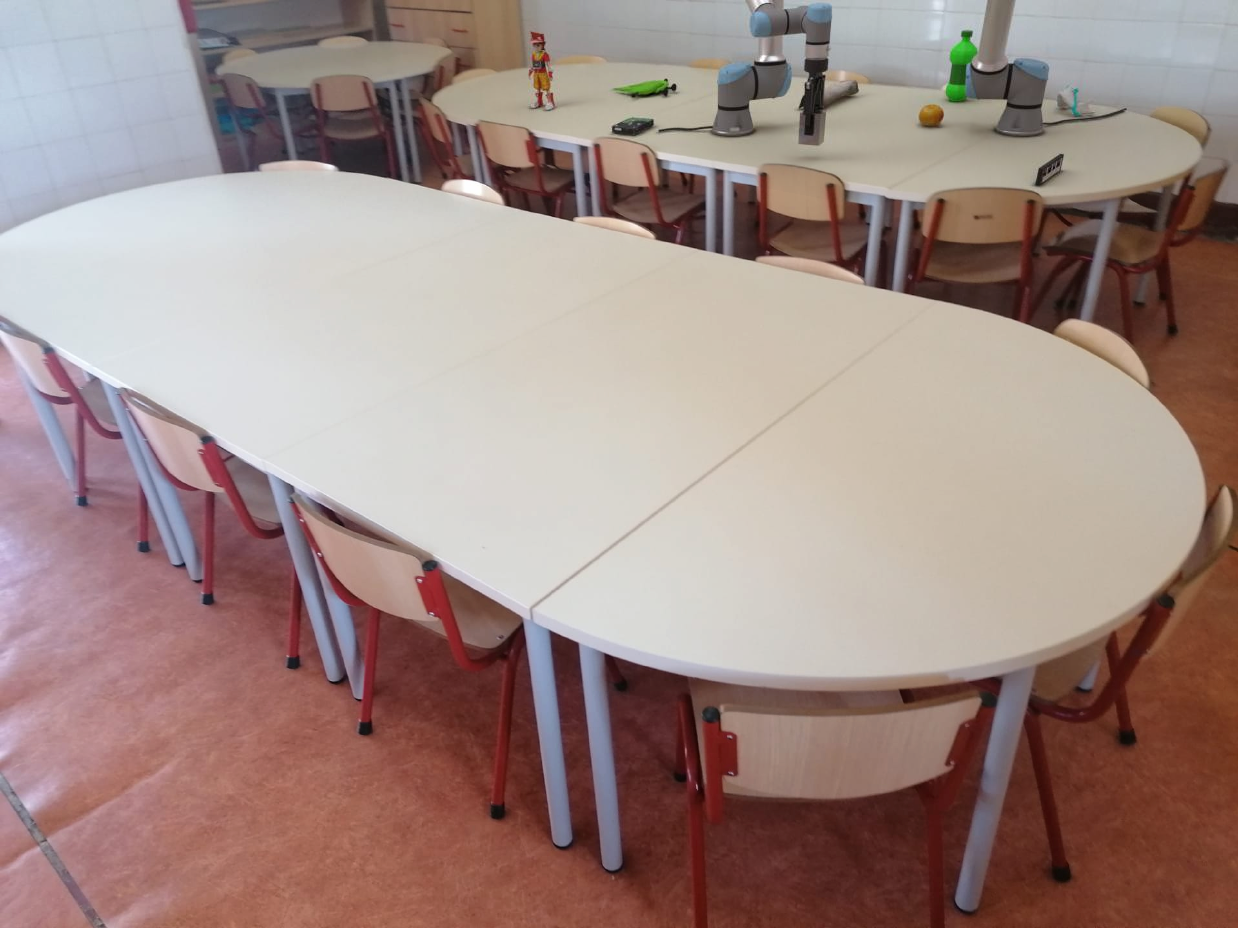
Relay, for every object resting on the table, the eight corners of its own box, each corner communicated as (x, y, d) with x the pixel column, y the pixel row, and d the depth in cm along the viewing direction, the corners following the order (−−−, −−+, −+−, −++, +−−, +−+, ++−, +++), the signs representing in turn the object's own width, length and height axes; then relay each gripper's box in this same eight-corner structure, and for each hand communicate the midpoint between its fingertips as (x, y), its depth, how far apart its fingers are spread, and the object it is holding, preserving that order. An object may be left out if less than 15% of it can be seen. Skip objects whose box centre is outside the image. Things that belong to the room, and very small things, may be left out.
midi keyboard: (1039, 185, 269) (1043, 168, 266) (1035, 184, 270) (1038, 168, 267) (1060, 170, 279) (1064, 154, 277) (1056, 169, 280) (1060, 153, 277)
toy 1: (525, 109, 381) (517, 32, 364) (534, 104, 388) (527, 28, 371) (550, 110, 377) (543, 32, 360) (559, 105, 384) (553, 28, 367)
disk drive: (634, 136, 338) (654, 126, 348) (634, 128, 336) (654, 118, 346) (611, 133, 343) (631, 123, 353) (611, 126, 341) (631, 116, 351)
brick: (798, 144, 301) (799, 112, 295) (803, 140, 305) (805, 109, 299) (818, 146, 298) (820, 114, 292) (823, 142, 301) (826, 110, 296)
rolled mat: (834, 85, 375) (850, 69, 367) (846, 103, 376) (863, 88, 367) (794, 103, 358) (811, 87, 350) (807, 122, 358) (824, 107, 350)
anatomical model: (1050, 84, 335) (1077, 77, 334) (1049, 112, 341) (1076, 105, 340) (1070, 94, 323) (1098, 86, 322) (1069, 123, 328) (1096, 115, 328)
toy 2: (686, 85, 398) (631, 84, 414) (685, 72, 395) (629, 72, 411) (651, 104, 381) (596, 103, 397) (650, 92, 378) (594, 91, 394)
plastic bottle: (975, 99, 356) (987, 30, 342) (958, 104, 351) (969, 35, 337) (955, 95, 363) (965, 28, 349) (937, 100, 358) (947, 32, 344)
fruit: (913, 117, 326) (928, 97, 323) (915, 120, 333) (929, 101, 330) (933, 130, 324) (947, 110, 321) (933, 133, 332) (948, 113, 329)
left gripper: (818, 64, 278) (812, 141, 291) (837, 53, 291) (831, 127, 304) (795, 63, 281) (791, 139, 295) (815, 52, 294) (810, 125, 307)
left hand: (811, 132), depth 299 cm, fingers closed on brick, 5 cm apart
